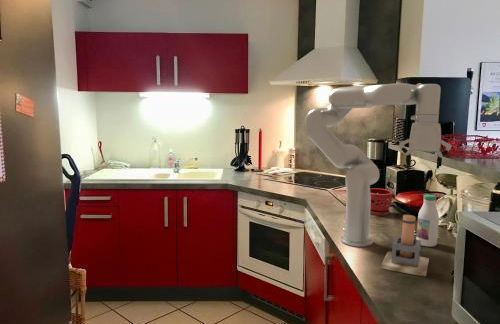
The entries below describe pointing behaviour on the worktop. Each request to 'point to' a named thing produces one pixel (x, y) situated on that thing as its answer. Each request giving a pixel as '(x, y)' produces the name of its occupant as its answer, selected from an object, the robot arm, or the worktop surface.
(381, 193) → the plant pot
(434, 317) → the worktop surface
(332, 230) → the worktop surface
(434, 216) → the milk bottle
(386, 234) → the worktop surface
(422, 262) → the collar stand
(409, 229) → the peg
